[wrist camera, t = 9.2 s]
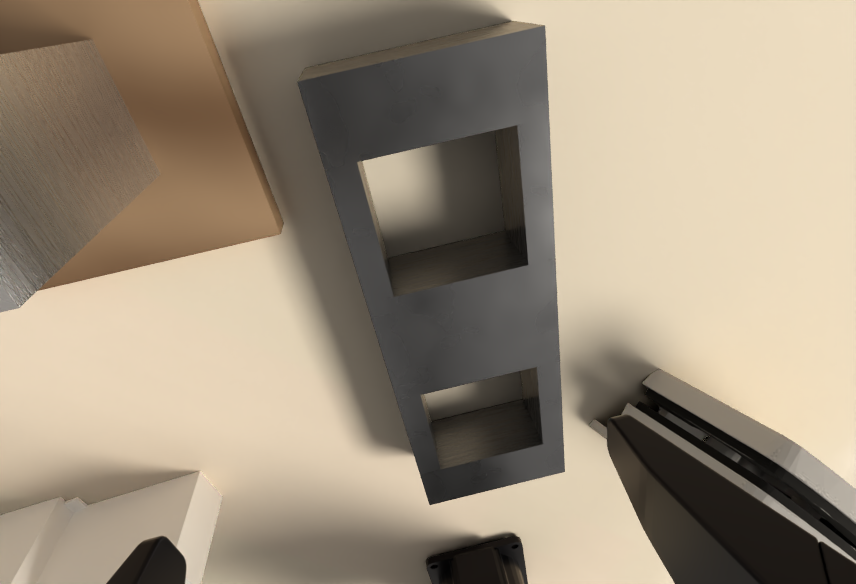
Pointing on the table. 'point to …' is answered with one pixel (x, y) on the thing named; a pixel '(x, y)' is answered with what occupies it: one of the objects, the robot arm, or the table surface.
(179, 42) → the walnut pad
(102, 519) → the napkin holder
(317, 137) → the grey cinder block
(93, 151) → the steel plug
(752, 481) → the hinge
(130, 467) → the table surface
